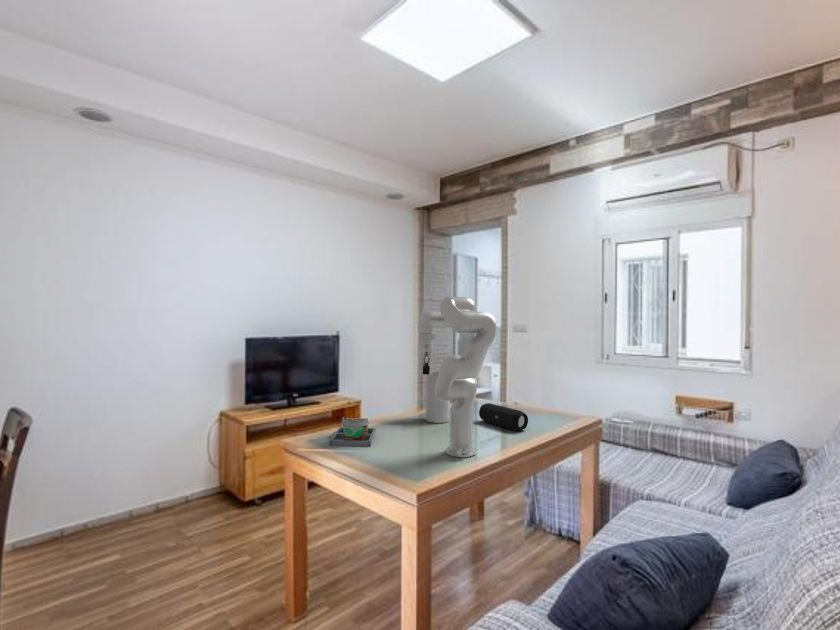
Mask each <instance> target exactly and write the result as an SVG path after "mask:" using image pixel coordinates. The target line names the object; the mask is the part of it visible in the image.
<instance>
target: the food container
mask: <svg viewBox="0 0 840 630" xmlns="http://www.w3.org/2000/svg"><path fill="white" fill-rule="evenodd" d="M366 419H367V420H364V421H360V420H357V419H346V418H345V416H343V417H342V419H341V422H340V423H341V425H342V427H343V432H344V440H354V441H365V440H366V432H367V425H370V423H369V422H370V421H369V418H366Z"/></svg>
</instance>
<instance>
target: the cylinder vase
mask: <svg viewBox="0 0 840 630" xmlns="http://www.w3.org/2000/svg"><path fill="white" fill-rule="evenodd" d="M438 374H439V371H430V373H429V375H426V391H425V392H426V394H425V397H426V398H425V399H426V400H425V402H426V403H425V420H426V421H427V422H428V423H431V424H446V423H448V422H450V411H451V402H450V401H441V400H439V399H438V398H437V397H436V395H435V384H436V380H437V377H438Z"/></svg>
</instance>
